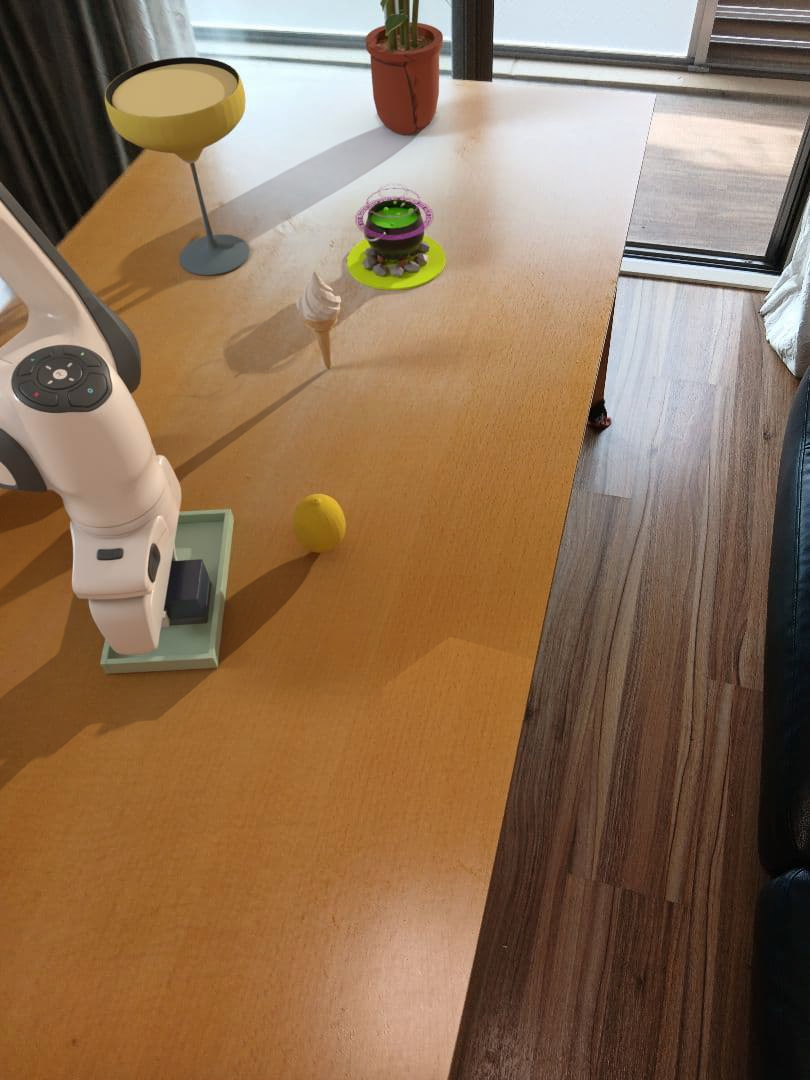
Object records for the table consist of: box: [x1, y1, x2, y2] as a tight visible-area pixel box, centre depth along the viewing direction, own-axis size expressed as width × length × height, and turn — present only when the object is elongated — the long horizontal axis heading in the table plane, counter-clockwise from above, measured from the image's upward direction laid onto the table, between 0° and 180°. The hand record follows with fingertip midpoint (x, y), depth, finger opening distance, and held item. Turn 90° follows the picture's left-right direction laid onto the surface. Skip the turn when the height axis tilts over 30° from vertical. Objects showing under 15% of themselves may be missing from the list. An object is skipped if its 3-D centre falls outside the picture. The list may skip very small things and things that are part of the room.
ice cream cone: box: [295, 270, 342, 370], centre depth 103 cm, size 6×6×15 cm
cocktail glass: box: [104, 56, 250, 277], centre depth 116 cm, size 18×18×25 cm
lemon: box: [293, 493, 347, 554], centre depth 87 cm, size 6×6×8 cm
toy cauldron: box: [346, 183, 447, 291], centre depth 119 cm, size 15×15×11 cm
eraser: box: [164, 559, 212, 626], centre depth 84 cm, size 8×5×4 cm, turn 93°
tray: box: [99, 508, 235, 675], centre depth 87 cm, size 11×19×2 cm, turn 2°
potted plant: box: [364, 0, 452, 136], centre depth 134 cm, size 17×16×35 cm
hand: (166, 595), depth 84 cm, fingers closed on eraser, 5 cm apart
